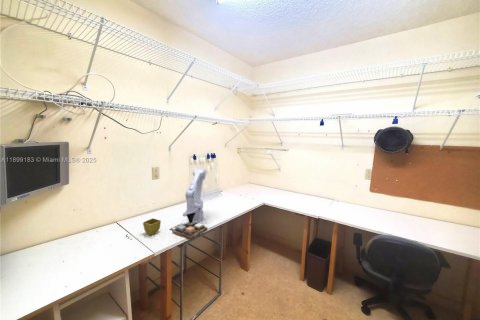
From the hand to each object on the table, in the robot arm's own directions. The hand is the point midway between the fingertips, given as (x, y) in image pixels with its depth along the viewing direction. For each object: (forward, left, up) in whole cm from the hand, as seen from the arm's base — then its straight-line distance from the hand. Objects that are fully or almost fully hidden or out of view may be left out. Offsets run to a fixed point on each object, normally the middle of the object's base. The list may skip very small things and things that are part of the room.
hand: (190, 222), depth 153 cm
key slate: (+9, 0, -3) cm, 9 cm away
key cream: (0, +8, -3) cm, 8 cm away
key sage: (0, 0, -3) cm, 3 cm away
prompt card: (+5, -9, -5) cm, 11 cm away
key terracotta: (+9, +8, -1) cm, 12 cm away
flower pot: (+21, -17, -5) cm, 28 cm away
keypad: (+5, +4, -5) cm, 8 cm away
